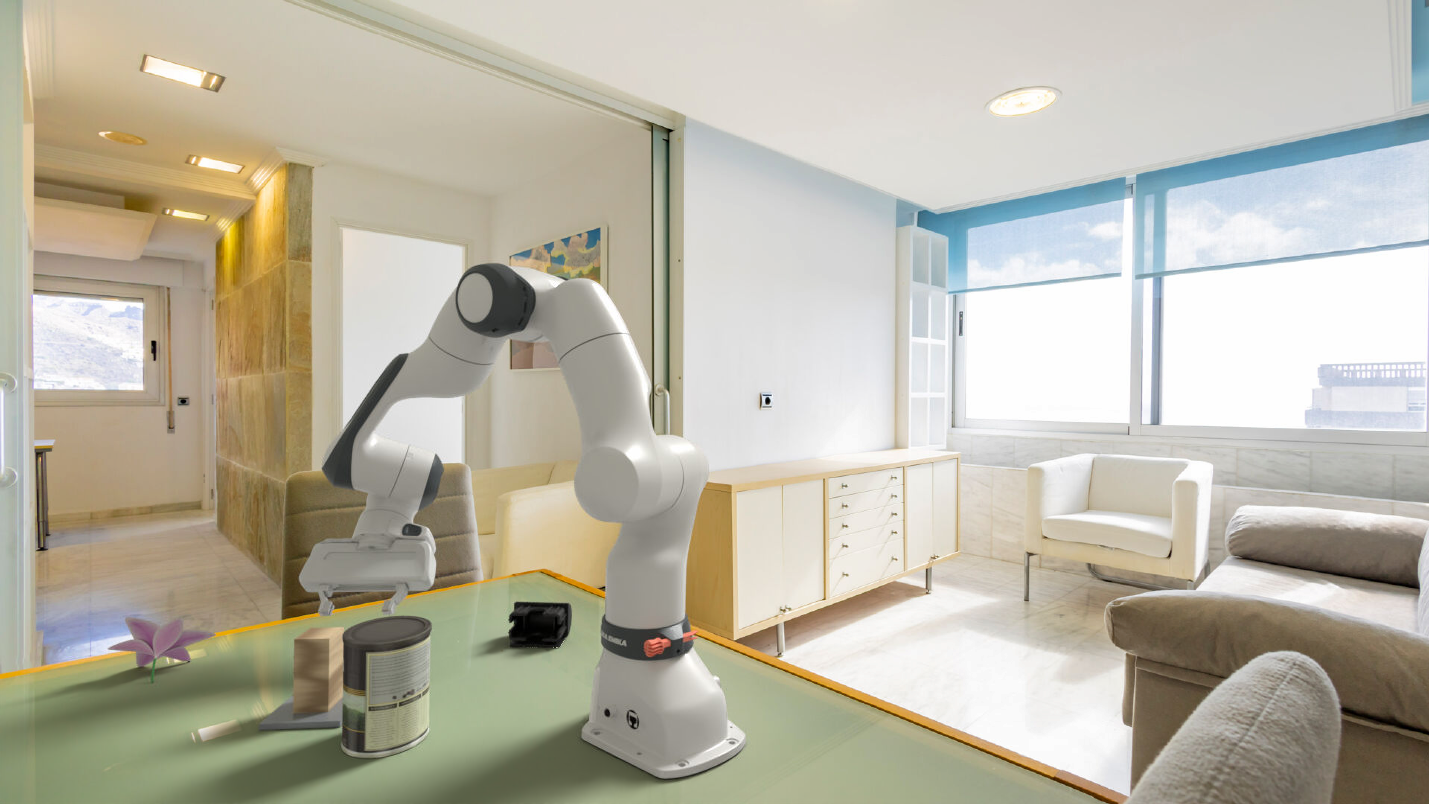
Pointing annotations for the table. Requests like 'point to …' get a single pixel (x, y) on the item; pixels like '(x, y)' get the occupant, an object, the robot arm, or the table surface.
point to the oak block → (318, 670)
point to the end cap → (540, 624)
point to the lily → (159, 641)
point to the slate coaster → (302, 718)
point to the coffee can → (385, 686)
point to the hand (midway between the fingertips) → (356, 613)
